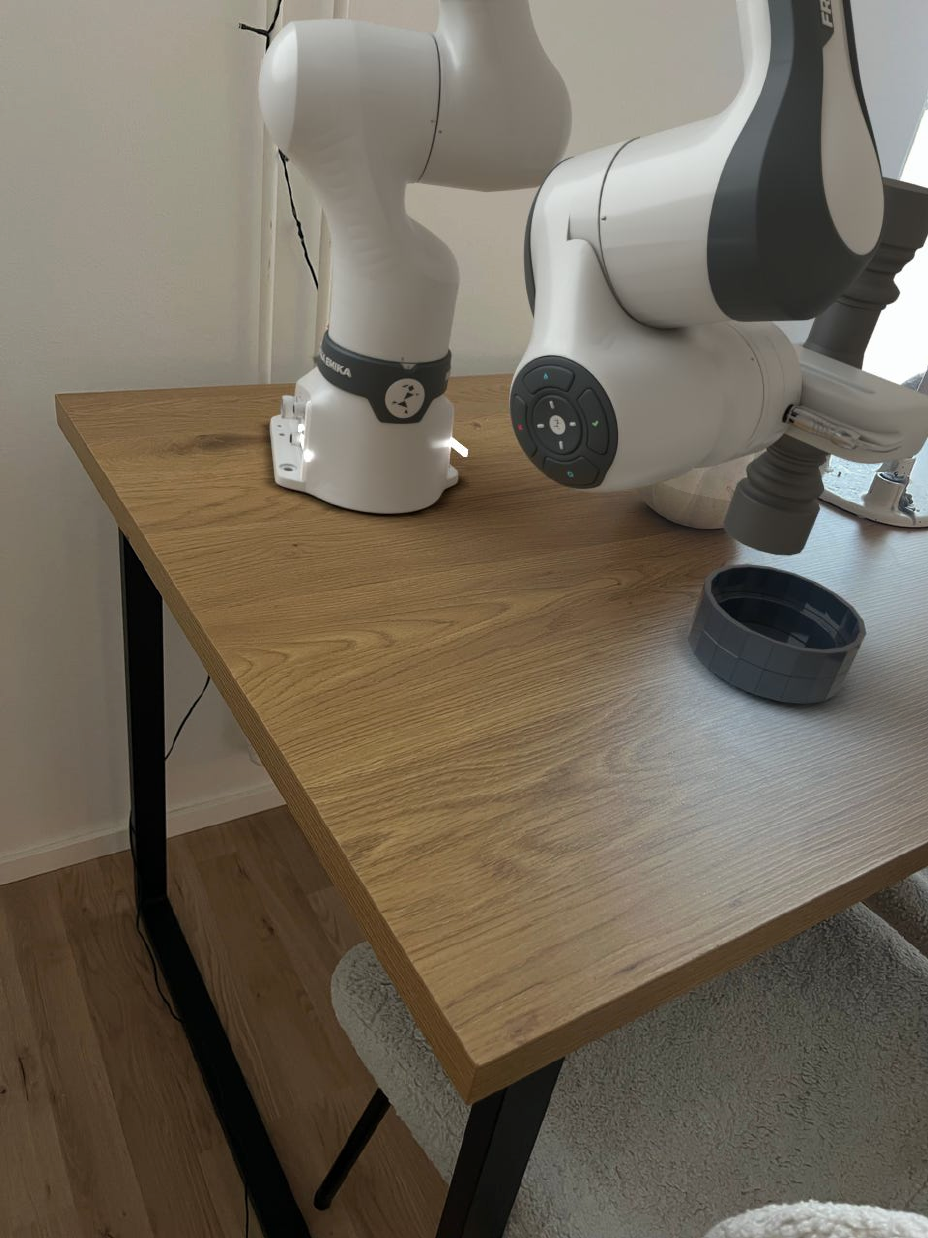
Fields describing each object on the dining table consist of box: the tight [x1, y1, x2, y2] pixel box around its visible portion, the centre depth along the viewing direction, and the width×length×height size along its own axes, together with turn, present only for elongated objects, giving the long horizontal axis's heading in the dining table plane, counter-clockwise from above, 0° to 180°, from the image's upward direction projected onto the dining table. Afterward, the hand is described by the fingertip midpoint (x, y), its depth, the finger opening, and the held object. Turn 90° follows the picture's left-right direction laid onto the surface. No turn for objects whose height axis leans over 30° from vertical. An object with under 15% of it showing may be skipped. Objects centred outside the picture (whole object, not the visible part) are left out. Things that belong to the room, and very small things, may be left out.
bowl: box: [687, 563, 867, 705], centre depth 83 cm, size 13×13×6 cm
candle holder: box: [723, 176, 928, 557], centre depth 69 cm, size 6×6×25 cm
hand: (827, 364), depth 71 cm, fingers closed on candle holder
